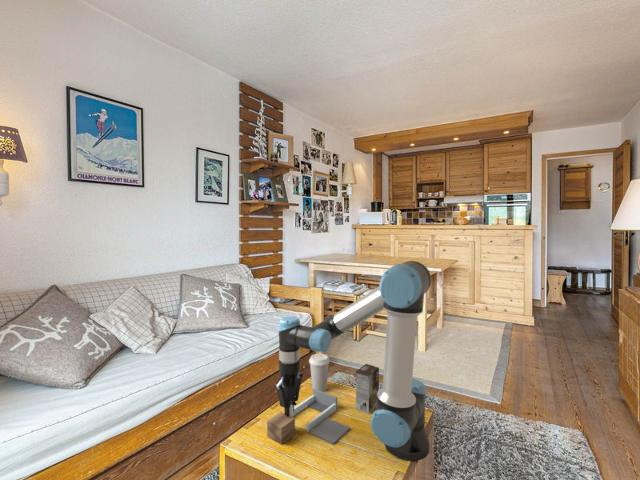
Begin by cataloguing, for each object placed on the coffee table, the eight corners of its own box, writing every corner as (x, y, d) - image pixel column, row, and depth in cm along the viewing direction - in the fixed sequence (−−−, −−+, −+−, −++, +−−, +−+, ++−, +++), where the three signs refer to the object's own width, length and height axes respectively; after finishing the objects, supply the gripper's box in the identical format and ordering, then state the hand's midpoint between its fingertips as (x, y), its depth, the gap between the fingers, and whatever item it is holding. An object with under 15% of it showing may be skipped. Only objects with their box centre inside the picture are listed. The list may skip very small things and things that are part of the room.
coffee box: (365, 399, 149) (366, 363, 148) (379, 404, 145) (379, 367, 144) (355, 409, 141) (355, 370, 140) (369, 414, 137) (369, 374, 137)
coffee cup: (329, 394, 153) (330, 361, 152) (308, 393, 153) (308, 361, 152) (329, 384, 163) (329, 353, 162) (309, 383, 163) (309, 352, 162)
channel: (337, 408, 141) (337, 397, 141) (308, 431, 126) (308, 418, 126) (314, 399, 148) (314, 388, 148) (284, 420, 133) (284, 407, 133)
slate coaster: (350, 429, 128) (350, 427, 127) (333, 444, 119) (333, 442, 119) (326, 418, 134) (326, 417, 134) (308, 432, 125) (308, 431, 125)
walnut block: (294, 434, 124) (294, 418, 124) (281, 444, 119) (281, 427, 118) (280, 427, 128) (280, 411, 128) (267, 436, 123) (267, 420, 122)
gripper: (293, 352, 133) (293, 411, 134) (269, 363, 122) (269, 427, 124) (308, 356, 128) (308, 417, 129) (284, 368, 118) (284, 435, 119)
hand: (289, 422), depth 127 cm, fingers closed
